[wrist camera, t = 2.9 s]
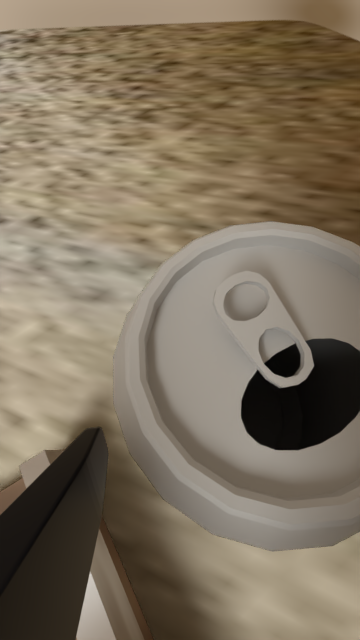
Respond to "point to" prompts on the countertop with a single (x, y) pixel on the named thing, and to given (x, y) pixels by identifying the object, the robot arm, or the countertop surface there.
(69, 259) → the countertop surface
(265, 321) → the can
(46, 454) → the floor track
